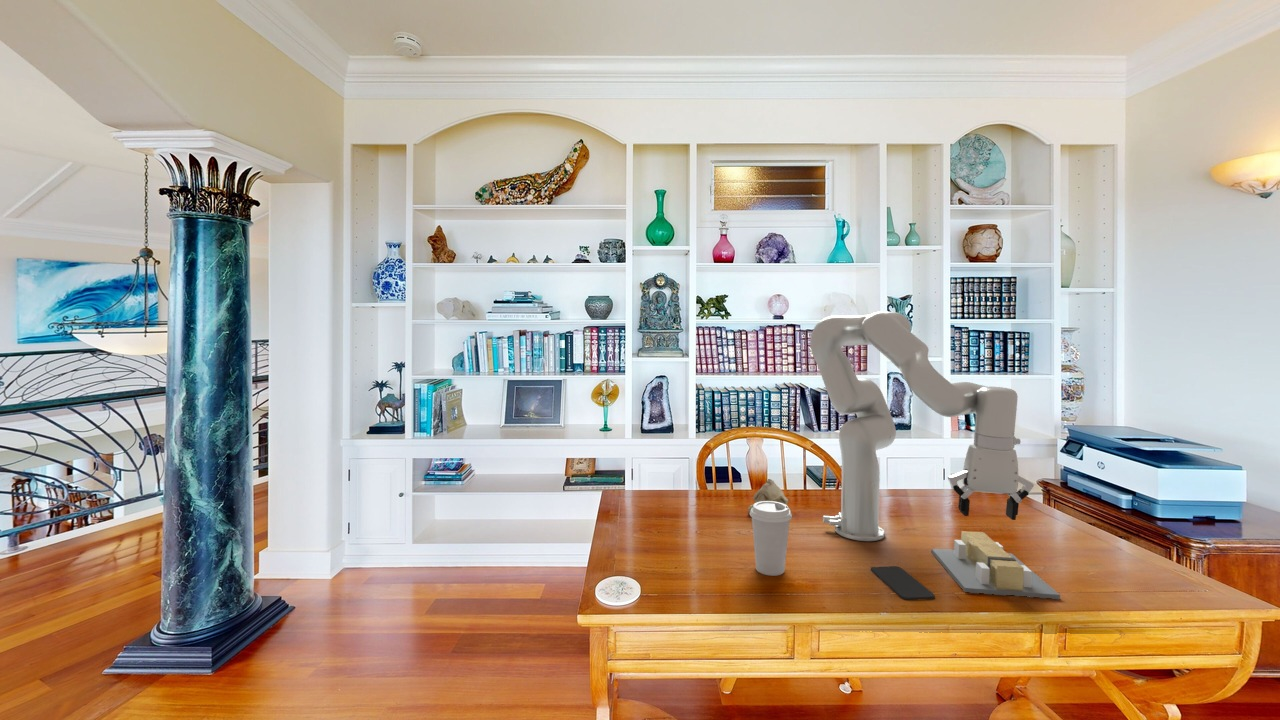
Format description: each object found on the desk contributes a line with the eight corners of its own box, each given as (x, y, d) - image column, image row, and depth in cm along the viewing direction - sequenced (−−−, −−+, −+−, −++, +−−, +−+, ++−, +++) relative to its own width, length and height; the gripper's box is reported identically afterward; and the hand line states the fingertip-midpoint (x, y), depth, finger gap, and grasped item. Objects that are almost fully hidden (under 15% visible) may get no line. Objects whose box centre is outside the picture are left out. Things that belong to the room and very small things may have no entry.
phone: (899, 565, 130) (937, 596, 115) (899, 569, 130) (937, 600, 115) (868, 566, 130) (903, 597, 115) (868, 570, 130) (903, 601, 115)
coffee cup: (784, 582, 123) (784, 516, 122) (743, 572, 128) (743, 508, 127) (796, 566, 131) (797, 504, 130) (757, 557, 136) (758, 497, 135)
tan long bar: (960, 550, 137) (961, 530, 136) (983, 552, 136) (984, 531, 135) (996, 588, 117) (997, 565, 117) (1023, 591, 116) (1023, 567, 116)
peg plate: (964, 592, 118) (965, 571, 117) (931, 552, 138) (932, 534, 138) (1059, 599, 114) (1060, 578, 114) (1011, 557, 135) (1012, 539, 135)
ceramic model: (761, 502, 178) (761, 471, 178) (795, 509, 172) (795, 477, 171) (741, 514, 167) (742, 482, 166) (777, 522, 160) (777, 488, 160)
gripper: (1027, 440, 127) (1021, 513, 128) (945, 436, 130) (940, 506, 131) (1045, 448, 119) (1038, 525, 121) (957, 443, 122) (952, 518, 124)
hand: (987, 515), depth 126 cm, fingers open, 9 cm apart
